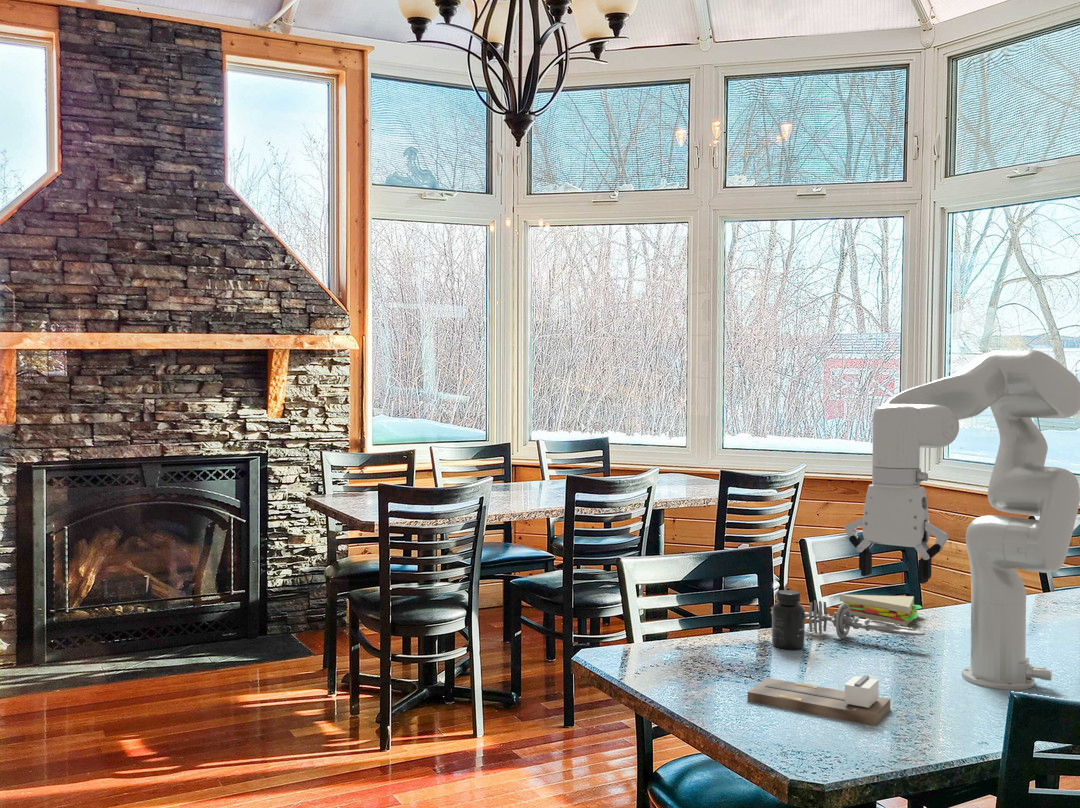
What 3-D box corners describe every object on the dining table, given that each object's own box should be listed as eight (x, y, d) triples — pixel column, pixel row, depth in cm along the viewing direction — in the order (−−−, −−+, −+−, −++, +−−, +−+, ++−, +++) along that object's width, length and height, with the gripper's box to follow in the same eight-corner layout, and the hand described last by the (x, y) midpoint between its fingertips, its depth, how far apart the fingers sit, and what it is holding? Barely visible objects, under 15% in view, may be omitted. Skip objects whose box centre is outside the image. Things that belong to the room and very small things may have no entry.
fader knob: (878, 698, 166) (878, 677, 166) (868, 707, 161) (869, 686, 161) (854, 694, 168) (854, 673, 168) (844, 703, 163) (844, 682, 163)
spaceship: (918, 656, 201) (919, 618, 201) (764, 629, 223) (764, 595, 223) (931, 648, 207) (931, 611, 207) (779, 623, 230) (779, 590, 229)
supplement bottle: (808, 651, 204) (808, 595, 204) (775, 651, 205) (776, 595, 204) (800, 643, 211) (800, 588, 211) (768, 643, 211) (769, 588, 211)
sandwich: (854, 606, 249) (855, 587, 249) (932, 618, 236) (933, 598, 236) (830, 617, 237) (830, 597, 237) (910, 630, 224) (911, 609, 224)
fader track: (890, 710, 167) (890, 698, 167) (874, 727, 159) (874, 714, 159) (767, 688, 179) (767, 677, 179) (747, 703, 171) (747, 691, 171)
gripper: (955, 480, 161) (954, 582, 162) (854, 473, 173) (853, 569, 173) (941, 482, 156) (939, 588, 156) (837, 476, 167) (836, 575, 167)
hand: (894, 578), depth 164 cm, fingers open, 9 cm apart
